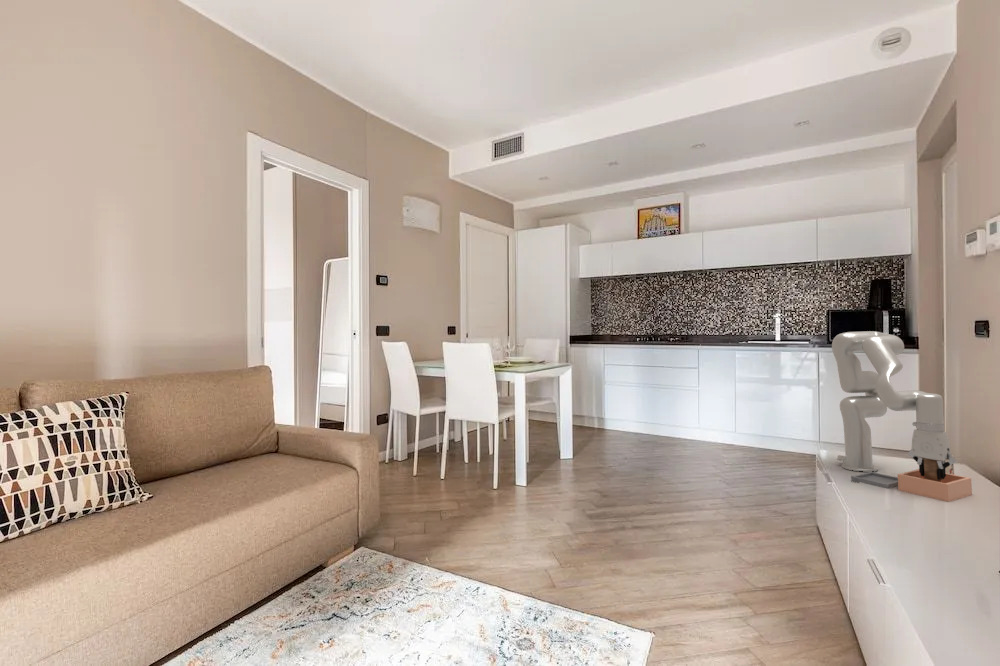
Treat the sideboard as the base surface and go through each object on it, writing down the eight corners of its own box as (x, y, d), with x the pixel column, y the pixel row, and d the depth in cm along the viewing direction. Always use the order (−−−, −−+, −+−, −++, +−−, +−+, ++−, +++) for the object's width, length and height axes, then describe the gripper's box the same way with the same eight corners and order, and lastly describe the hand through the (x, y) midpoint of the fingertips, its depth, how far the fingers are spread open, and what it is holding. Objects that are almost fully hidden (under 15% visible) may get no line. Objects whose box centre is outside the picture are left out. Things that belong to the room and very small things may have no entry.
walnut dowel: (922, 486, 177) (920, 456, 177) (928, 484, 178) (927, 454, 178) (937, 489, 172) (935, 459, 173) (944, 487, 174) (942, 457, 174)
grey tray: (851, 481, 193) (851, 476, 193) (871, 476, 198) (871, 471, 198) (887, 489, 181) (887, 484, 181) (908, 484, 186) (907, 479, 186)
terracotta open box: (898, 491, 179) (897, 474, 179) (921, 485, 185) (920, 468, 185) (948, 503, 165) (947, 484, 165) (972, 496, 171) (971, 477, 171)
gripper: (897, 424, 182) (899, 473, 182) (953, 432, 166) (956, 485, 166) (909, 422, 185) (911, 470, 185) (965, 430, 169) (967, 481, 169)
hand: (932, 476), depth 175 cm, fingers closed on walnut dowel, 4 cm apart
